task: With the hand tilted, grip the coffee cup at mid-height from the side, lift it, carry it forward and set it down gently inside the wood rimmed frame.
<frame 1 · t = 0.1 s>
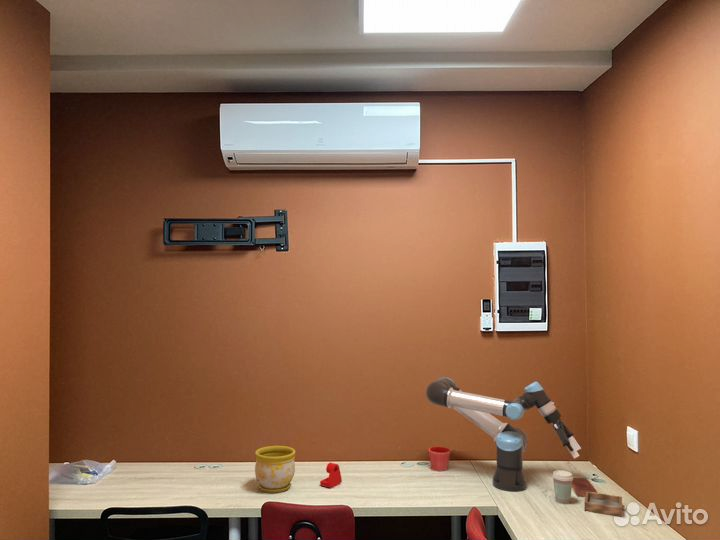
hand: (577, 453, 254), 15 cm above the table, tool tilted 35°, fingers open, 13 cm apart
flower pot: (439, 469, 276), on the table
wood rimmed frame: (603, 508, 229), on the table
flowerpot: (274, 488, 248), on the table
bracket: (330, 485, 252), on the table
coffee cup: (562, 501, 236), on the table
wooden tablet: (583, 489, 253), on the table
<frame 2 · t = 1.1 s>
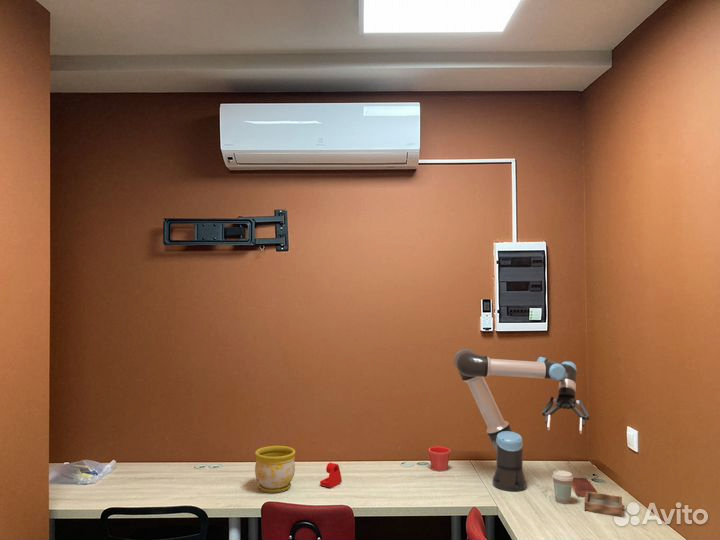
hand: (564, 430, 246), 28 cm above the table, tool tilted 45°, fingers open, 13 cm apart
nothing on the table moved.
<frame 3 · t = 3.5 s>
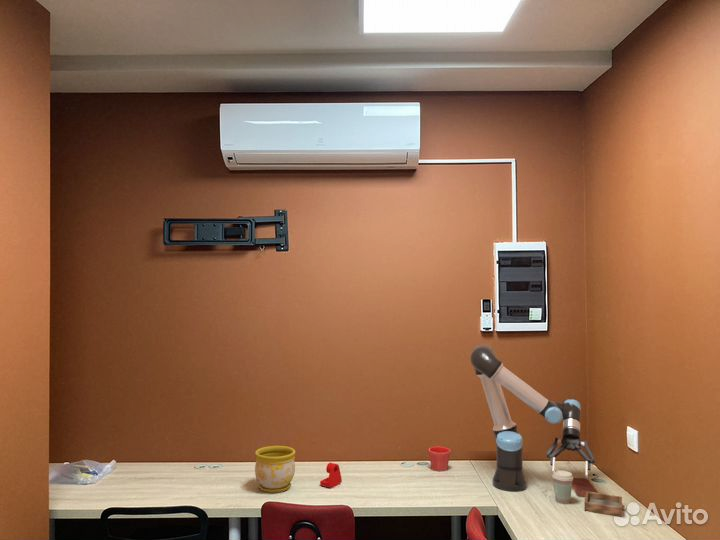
hand: (569, 474, 241), 10 cm above the table, tool tilted 45°, fingers open, 13 cm apart
nothing on the table moved.
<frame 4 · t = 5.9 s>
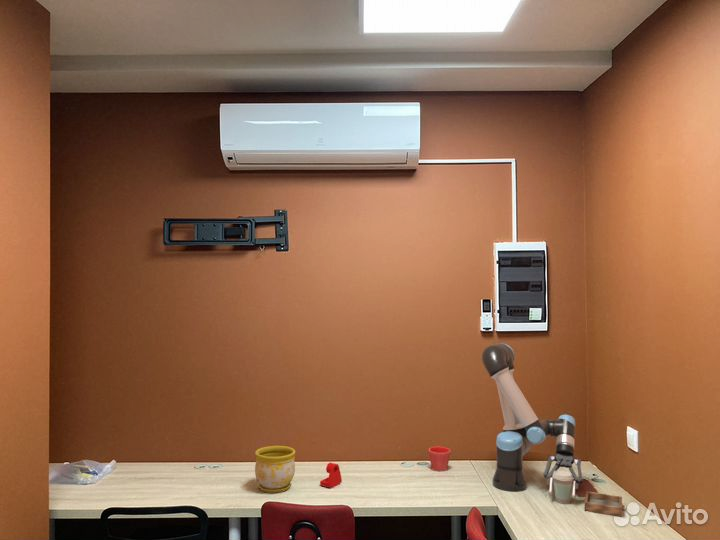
hand: (562, 495, 233), 4 cm above the table, tool tilted 45°, fingers closed on coffee cup, 8 cm apart
coffee cup: (562, 501, 236), on the table, touching gripper
everything else where it was.
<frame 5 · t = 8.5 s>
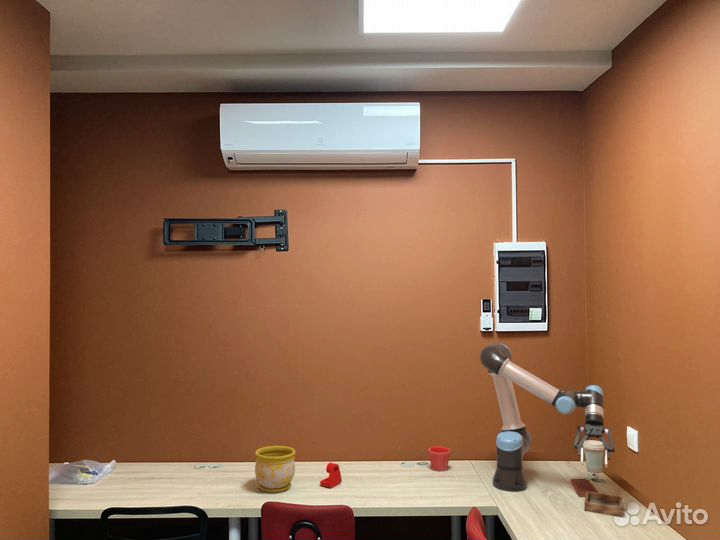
hand: (594, 464, 228), 18 cm above the table, tool tilted 45°, fingers closed on coffee cup, 8 cm apart
coffee cup: (594, 471, 230), point 14 cm above the table, touching gripper
everything else where it was.
when the fingers open (6 cm above the table, at t = 11.2 s): coffee cup drops 1 cm, resting on wood rimmed frame.
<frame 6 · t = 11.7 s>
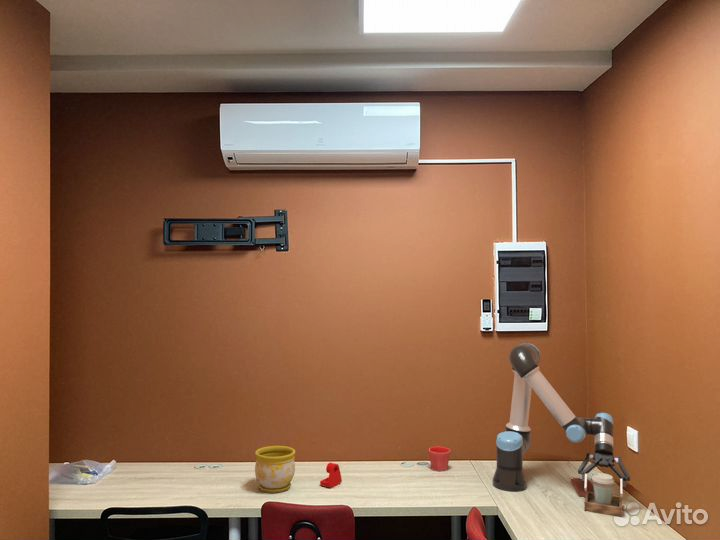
hand: (603, 492, 227), 7 cm above the table, tool tilted 45°, fingers open, 13 cm apart
coffee cup: (603, 505, 229), point 1 cm above the table, touching wood rimmed frame
everything else where it was.
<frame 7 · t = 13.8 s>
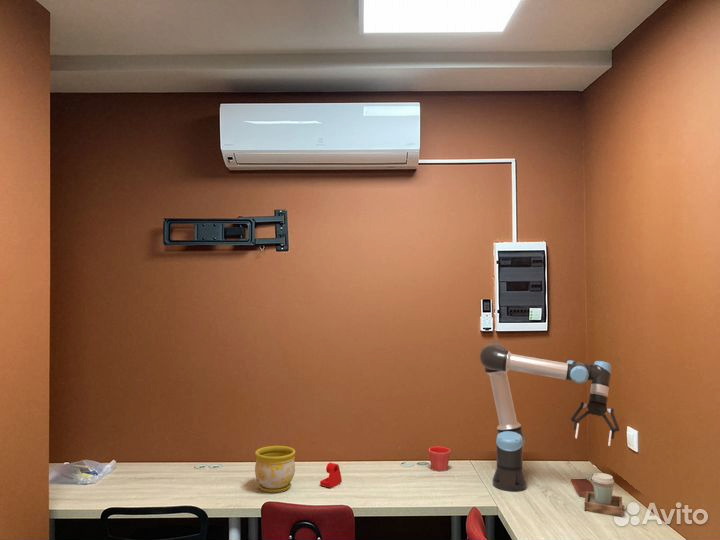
hand: (592, 442, 245), 23 cm above the table, tool tilted 20°, fingers open, 13 cm apart
nothing on the table moved.
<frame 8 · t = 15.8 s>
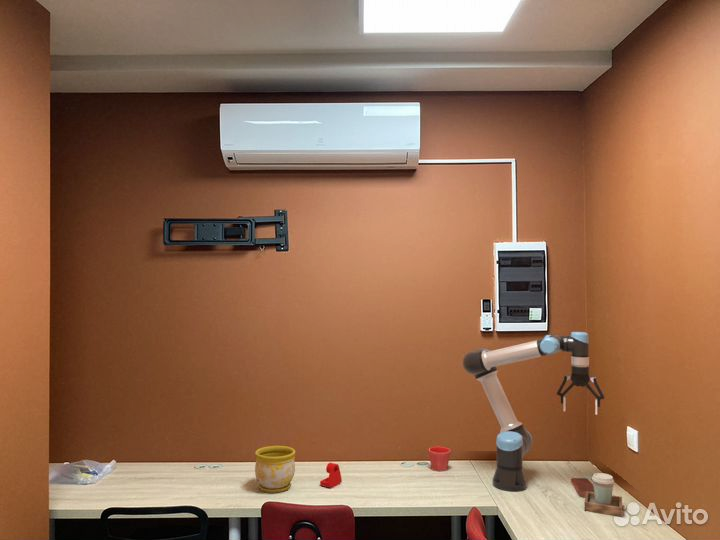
hand: (580, 412, 251), 35 cm above the table, tool pointing down, fingers open, 13 cm apart
nothing on the table moved.
at the end: coffee cup inside the target area on the wood rimmed frame (0.2 cm from its centre), point 1.0 cm above the wood rimmed frame's base; coffee cup tilted 0°; the gripper is holding nothing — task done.
